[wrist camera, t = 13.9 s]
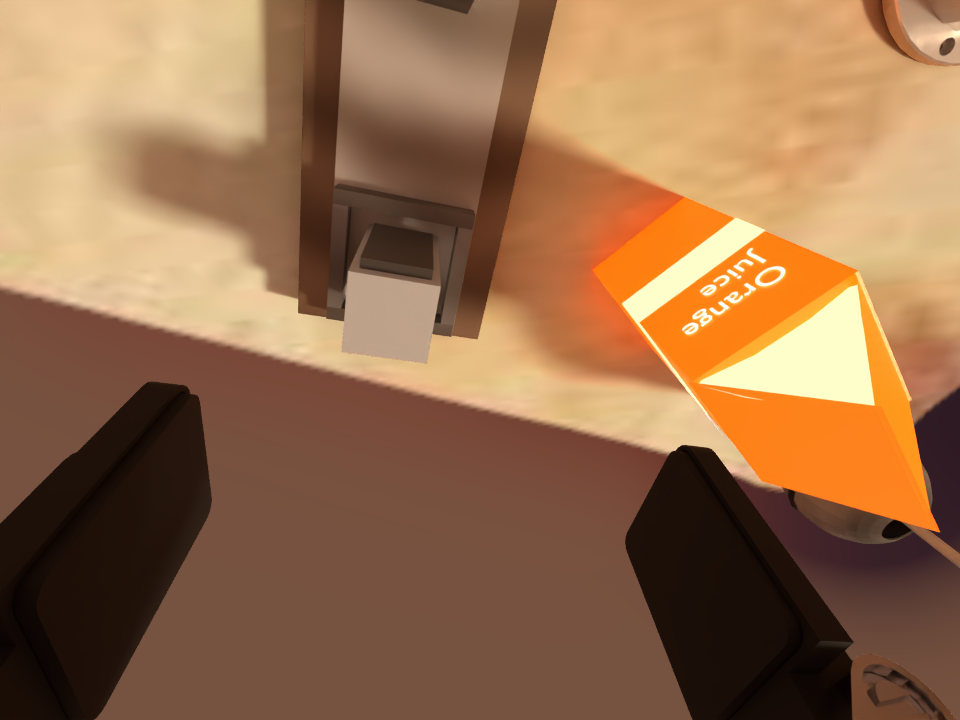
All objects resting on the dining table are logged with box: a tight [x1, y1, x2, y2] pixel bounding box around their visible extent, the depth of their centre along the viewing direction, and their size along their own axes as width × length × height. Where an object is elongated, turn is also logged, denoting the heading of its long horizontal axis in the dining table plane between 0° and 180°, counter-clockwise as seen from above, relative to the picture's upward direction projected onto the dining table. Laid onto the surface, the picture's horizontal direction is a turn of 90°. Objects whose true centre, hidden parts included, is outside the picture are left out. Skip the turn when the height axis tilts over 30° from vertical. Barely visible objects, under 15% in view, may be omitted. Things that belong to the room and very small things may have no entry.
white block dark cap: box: [342, 223, 441, 364], centre depth 24 cm, size 4×4×8 cm
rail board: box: [298, 0, 557, 339], centre depth 23 cm, size 24×12×11 cm, turn 168°
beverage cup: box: [782, 464, 960, 568], centre depth 30 cm, size 7×7×20 cm
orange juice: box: [593, 197, 940, 532], centre depth 25 cm, size 8×9×20 cm
